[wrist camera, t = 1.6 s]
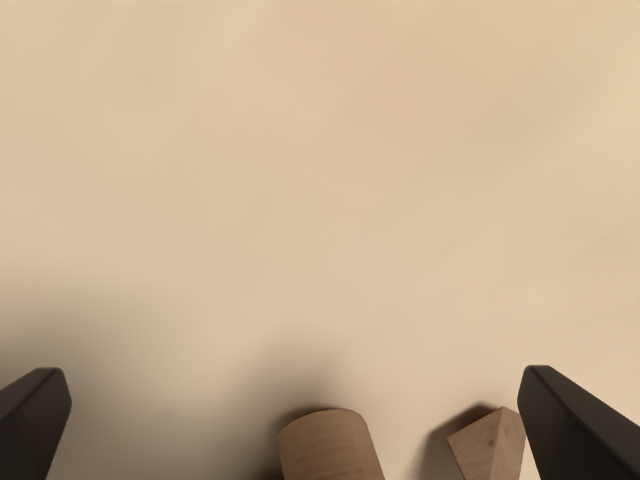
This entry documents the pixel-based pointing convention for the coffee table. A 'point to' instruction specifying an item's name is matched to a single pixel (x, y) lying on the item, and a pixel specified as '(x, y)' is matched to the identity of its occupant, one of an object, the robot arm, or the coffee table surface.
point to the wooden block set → (361, 459)
